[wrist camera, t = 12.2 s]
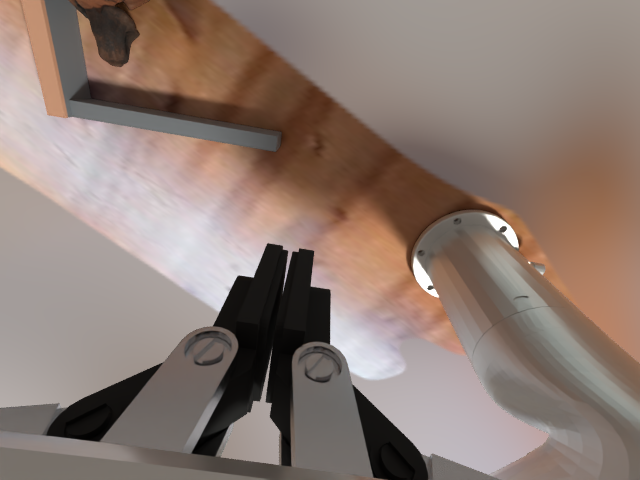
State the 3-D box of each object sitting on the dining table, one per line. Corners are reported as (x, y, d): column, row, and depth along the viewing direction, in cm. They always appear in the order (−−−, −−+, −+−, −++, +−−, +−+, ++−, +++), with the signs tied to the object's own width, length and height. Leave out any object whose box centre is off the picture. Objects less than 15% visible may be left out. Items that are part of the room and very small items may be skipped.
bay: (304, -94, 25) (299, -123, 21) (280, 146, 33) (274, 153, 30) (29, -150, 24) (-24, -191, 20) (78, 111, 33) (47, 114, 29)
